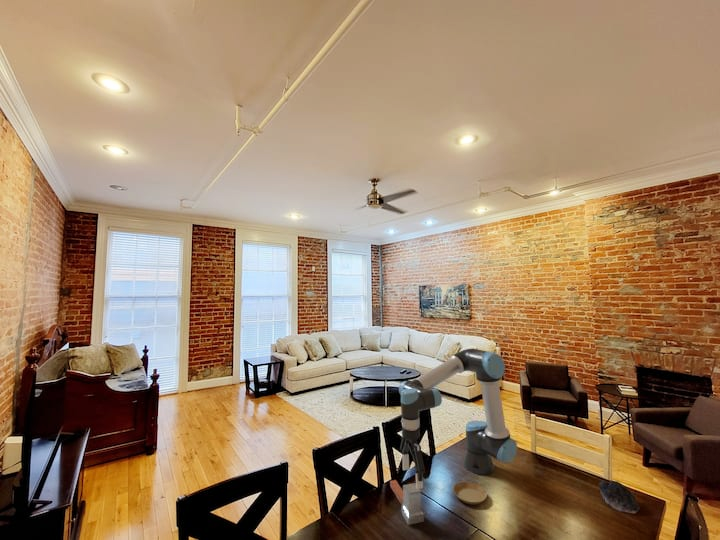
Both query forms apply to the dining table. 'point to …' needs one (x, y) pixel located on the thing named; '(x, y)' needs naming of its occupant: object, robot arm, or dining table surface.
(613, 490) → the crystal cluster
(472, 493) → the plant saucer
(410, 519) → the mallet
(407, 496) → the white upright block
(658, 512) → the dining table surface
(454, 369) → the robot arm
